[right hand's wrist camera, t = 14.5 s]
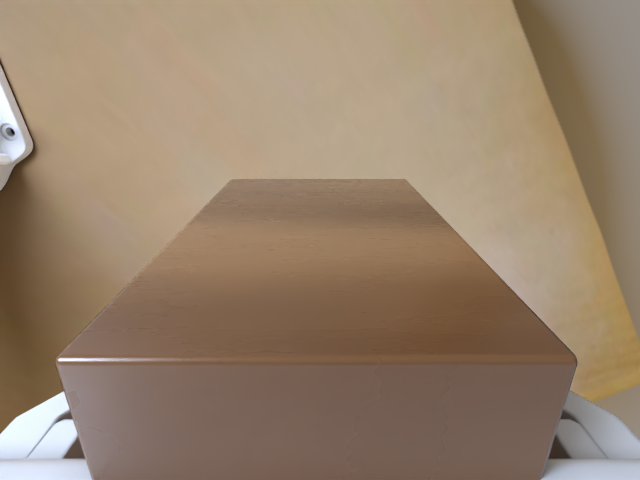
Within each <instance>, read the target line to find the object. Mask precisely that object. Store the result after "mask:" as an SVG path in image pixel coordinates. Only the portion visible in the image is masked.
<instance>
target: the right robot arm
mask: <svg viewBox="0 0 640 480" xmlns="http://www.w3.org/2000/svg"><path fill="white" fill-rule="evenodd" d="M11 129H13V130H14V132H15V135H14V134H13V133H12V131H11ZM32 149H33V142H32V139H31V137H30V134H29V132H28V129H27V127H26V125H25V122H24V120H23V117H22V115H21V113H20V110H19V108H18V105H17V103H16V101H15V98H14V96H13V93H12V91H11V89H10V86H9V84H8V81H7V79H6V77H5V74H4V72H3V69H2V67H1V65H0V191H1V190H2V188H3V187H4V186H5V184H6V182H7V181H8V178H9V176H10V174H11V172H12V170H13V168H14V166H15V165H16V164H17V163H19V162H20V161H21V160H23V159H24V158H26V157H27V156H28V155H29V154H30V153H31V151H32ZM0 480H92V478H91V475H90V472H89V469H88V466H87V463H86V460H85V456H84V453H83V450H82V447H81V444H80V441H79V438H78V434H77V431H76V428H75V425H74V422H73V419H72V416H71V412H70V409H69V406H68V403H67V400H66V397H65V394H64V391H63V392H62V393H60V394H58V395H56V396H54V397H52V398H51V399H49V400H47V401H45V402H43V403H41V404H40V405H38V406H36V407H34V408H32V409H30V410H29V411H27V412H25V413H23V414H21V415H20V416H18V417H16V418H15V419H14V420H13V421H12V422H11V423H10V424H9V425H8V427H7V428H6V429H5V430H4V431H3V432H2V433H1V434H0ZM540 480H640V440H639V439H638V438H637V436H636V435H635V434H634V433H633V432H632V431H631V430H630V429H629V428H628V427H627V425H626V424H625V423H624V422H623V421H622V420H621V419H620V418H619V417H617V416H615V415H613V414H612V413H610V412H608V411H606V410H604V409H602V408H601V407H599V406H597V405H595V404H593V403H592V402H590V401H588V400H586V399H584V398H583V397H581V396H579V395H577V394H575V393H574V392H572V391H570V390H569V392H568V396H567V399H566V402H565V405H564V409H563V412H562V415H561V418H560V422H559V425H558V428H557V431H556V435H555V438H554V441H553V444H552V448H551V451H550V454H549V457H548V460H547V464H546V467H545V470H544V473H543V477H542V479H540Z"/></svg>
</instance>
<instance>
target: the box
mask: <svg viewBox="0 0 640 480" xmlns="http://www.w3.org/2000/svg"><path fill="white" fill-rule="evenodd" d="M55 365H56V368H57V372H58V375H59V378H60V381H61V384H62V387H63V390H64V394H65V397H66V400H67V403H68V406H69V409H70V412H71V416H72V419H73V422H74V425H75V428H76V431H77V434H78V438H79V441H80V444H81V447H82V450H83V453H84V456H85V460H86V463H87V466H88V469H89V472H90V475H91V478H92V480H540V479H542V477H543V473H544V470H545V467H546V464H547V460H548V457H549V454H550V451H551V448H552V444H553V441H554V438H555V435H556V431H557V428H558V425H559V422H560V418H561V415H562V412H563V409H564V405H565V402H566V399H567V396H568V392H569V389H570V386H571V383H572V379H573V376H574V373H575V370H576V367H577V358H576V356H575V355H574V354H573V353H572V352H571V350H570V349H569V348H568V347H567V346H566V345H565V344H564V343H563V342H562V341H561V340H560V339H559V338H558V337H557V336H556V335H555V334H554V333H553V332H552V331H551V330H550V329H549V328H548V327H547V326H546V325H545V324H544V322H543V321H542V320H541V319H540V318H539V317H538V316H537V315H536V314H535V313H534V312H533V311H532V310H531V309H530V308H529V307H528V306H527V305H526V304H525V303H524V302H523V301H522V300H521V299H520V298H519V297H518V296H517V294H516V293H515V292H514V291H513V290H512V289H511V288H510V287H509V286H508V285H507V284H506V283H505V282H504V281H503V280H502V279H501V278H500V277H499V276H498V275H497V274H496V273H495V272H494V271H493V270H492V269H491V268H490V266H489V265H488V264H487V263H486V262H485V261H484V260H483V259H482V258H481V257H480V256H479V255H478V254H477V253H476V252H475V251H474V250H473V249H472V248H471V247H470V246H469V245H468V244H467V243H466V242H465V241H464V240H463V239H462V237H461V236H460V235H459V234H458V233H457V232H456V231H455V230H454V229H453V228H452V227H451V226H450V225H449V224H448V223H447V222H446V221H445V220H444V219H443V218H442V217H441V216H440V215H439V214H438V213H437V212H436V211H435V209H434V208H433V207H432V206H431V205H430V204H429V203H428V202H427V201H426V200H425V199H424V198H423V197H422V196H421V195H420V194H419V193H418V192H417V191H416V190H415V189H414V188H413V187H412V186H411V185H410V184H409V183H408V181H407V180H405V179H232V180H230V181H229V182H228V183H227V184H226V185H225V186H224V187H223V188H222V189H221V190H220V191H219V192H218V193H217V194H216V195H215V196H214V197H213V198H212V200H211V201H210V202H209V203H208V204H207V205H206V206H205V207H204V208H203V209H202V210H201V211H200V212H199V213H198V214H197V215H196V216H195V217H194V218H193V219H192V220H191V221H190V222H189V223H188V224H187V225H186V226H185V227H184V228H183V229H182V230H181V231H180V232H179V233H178V234H177V235H176V236H175V237H174V238H173V239H172V240H171V241H170V242H169V243H168V244H167V245H166V246H165V247H164V248H163V249H162V250H161V251H160V252H159V253H158V254H157V255H156V256H155V257H154V258H153V259H152V260H151V261H150V262H149V264H148V265H147V266H146V267H145V268H144V269H143V270H142V271H141V272H140V273H139V274H138V275H137V276H136V277H135V278H134V279H133V280H132V281H131V282H130V283H129V284H128V285H127V286H126V287H125V288H124V289H123V290H122V291H121V292H120V293H119V294H118V295H117V296H116V297H115V298H114V299H113V300H112V301H111V302H110V303H109V304H108V305H107V306H106V307H105V308H104V309H103V310H102V311H101V312H100V313H99V314H98V315H97V316H96V317H95V318H94V319H93V320H92V321H91V322H90V323H89V324H88V325H87V327H86V328H85V329H84V330H83V331H82V332H81V333H80V334H79V335H78V336H77V337H76V338H75V339H74V340H73V341H72V342H71V343H70V344H69V345H68V346H67V347H66V348H65V349H64V350H63V351H62V352H61V353H60V354H59V355H58V356H57V358H56V362H55Z"/></svg>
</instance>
